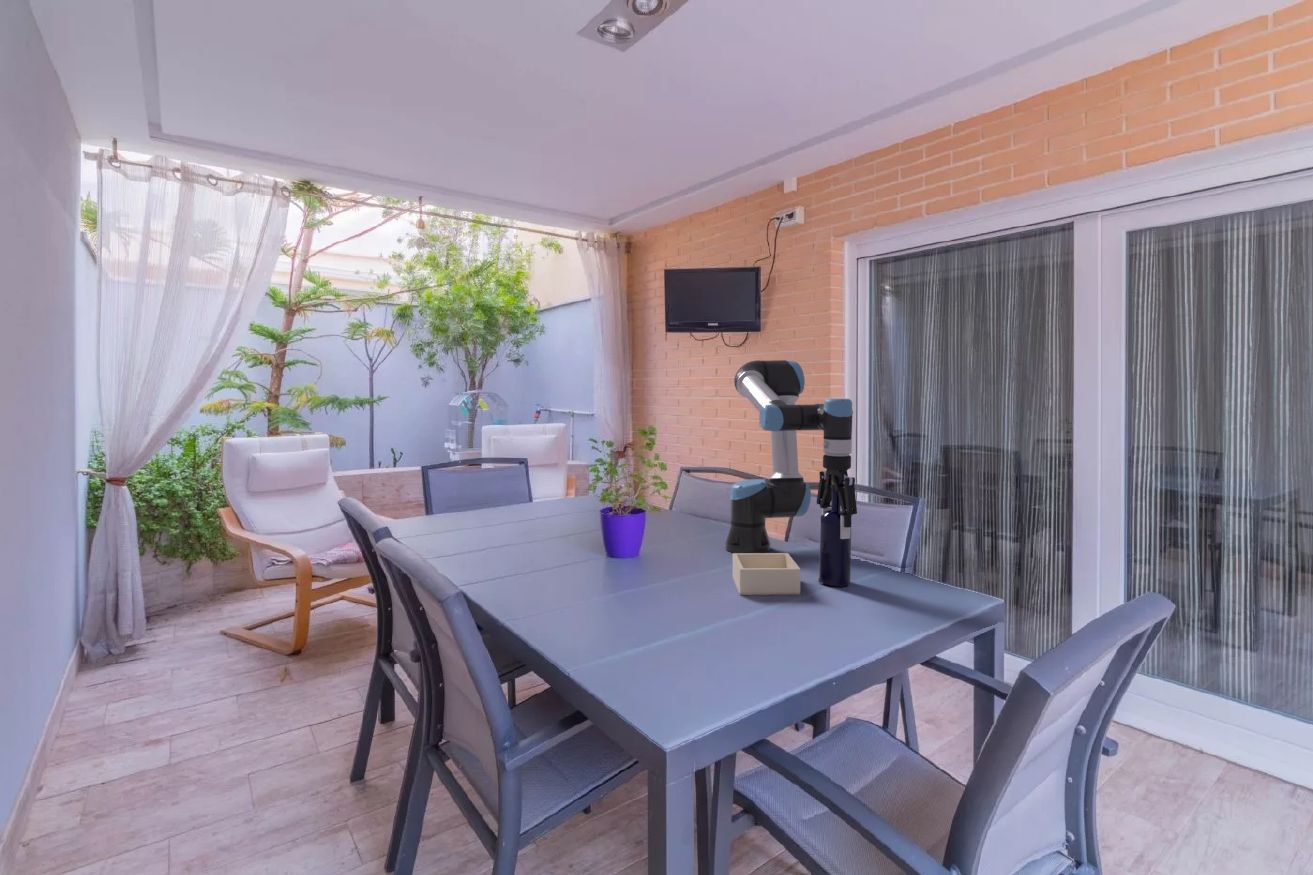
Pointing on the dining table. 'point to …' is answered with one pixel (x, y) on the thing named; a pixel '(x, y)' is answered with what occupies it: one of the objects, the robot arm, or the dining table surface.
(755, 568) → the bin
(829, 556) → the bottle
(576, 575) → the dining table surface
